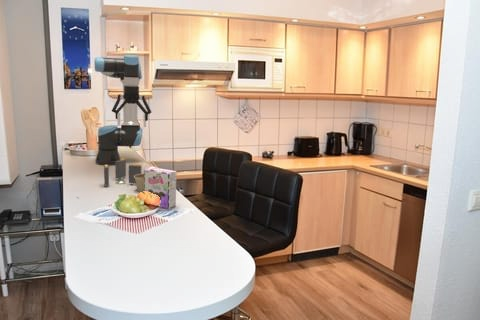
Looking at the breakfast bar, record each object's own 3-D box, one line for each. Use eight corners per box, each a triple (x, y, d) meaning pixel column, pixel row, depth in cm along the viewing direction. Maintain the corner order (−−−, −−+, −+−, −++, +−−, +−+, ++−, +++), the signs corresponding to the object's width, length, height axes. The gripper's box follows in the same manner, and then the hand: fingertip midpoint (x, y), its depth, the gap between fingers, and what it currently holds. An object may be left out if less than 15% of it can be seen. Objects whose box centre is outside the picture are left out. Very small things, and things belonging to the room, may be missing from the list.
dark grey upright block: (109, 183, 208) (108, 163, 206) (109, 187, 203) (108, 165, 201) (104, 184, 208) (103, 163, 205) (104, 187, 202) (103, 166, 200)
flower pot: (149, 196, 195) (149, 179, 194) (130, 194, 197) (130, 177, 195) (156, 191, 204) (157, 174, 203) (139, 189, 206) (139, 172, 204)
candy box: (143, 203, 185) (143, 168, 182) (152, 200, 190) (152, 166, 187) (168, 209, 179) (168, 173, 175) (176, 206, 184) (176, 170, 180)
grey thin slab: (130, 183, 211) (130, 163, 208) (141, 184, 210) (141, 163, 208) (128, 184, 208) (128, 164, 206) (140, 185, 208) (140, 164, 206)
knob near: (115, 179, 216) (114, 159, 214) (122, 177, 222) (122, 157, 219) (119, 180, 215) (118, 160, 213) (126, 178, 221) (126, 158, 218)
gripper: (157, 86, 217) (156, 126, 222) (109, 84, 216) (110, 124, 221) (154, 87, 210) (154, 128, 214) (105, 84, 209) (106, 126, 214)
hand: (131, 126), depth 218 cm, fingers open, 13 cm apart
